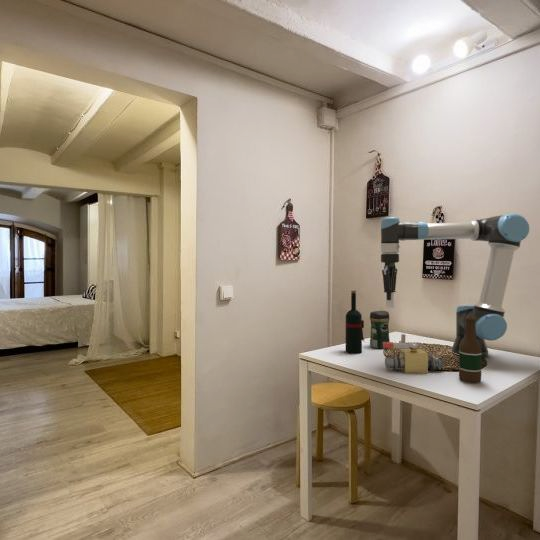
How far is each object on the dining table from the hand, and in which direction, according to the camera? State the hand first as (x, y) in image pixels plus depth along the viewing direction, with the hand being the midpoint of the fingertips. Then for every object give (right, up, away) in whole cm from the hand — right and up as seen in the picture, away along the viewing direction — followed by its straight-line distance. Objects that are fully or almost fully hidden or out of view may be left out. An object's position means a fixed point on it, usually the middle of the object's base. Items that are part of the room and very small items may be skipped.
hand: (389, 307), depth 166 cm
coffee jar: (+4, -23, +28) cm, 36 cm away
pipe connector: (+10, -24, +11) cm, 28 cm away
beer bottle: (+23, -26, -23) cm, 41 cm away
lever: (+2, -16, -10) cm, 18 cm away
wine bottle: (-11, -24, +20) cm, 33 cm away
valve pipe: (+6, -25, -10) cm, 28 cm away
